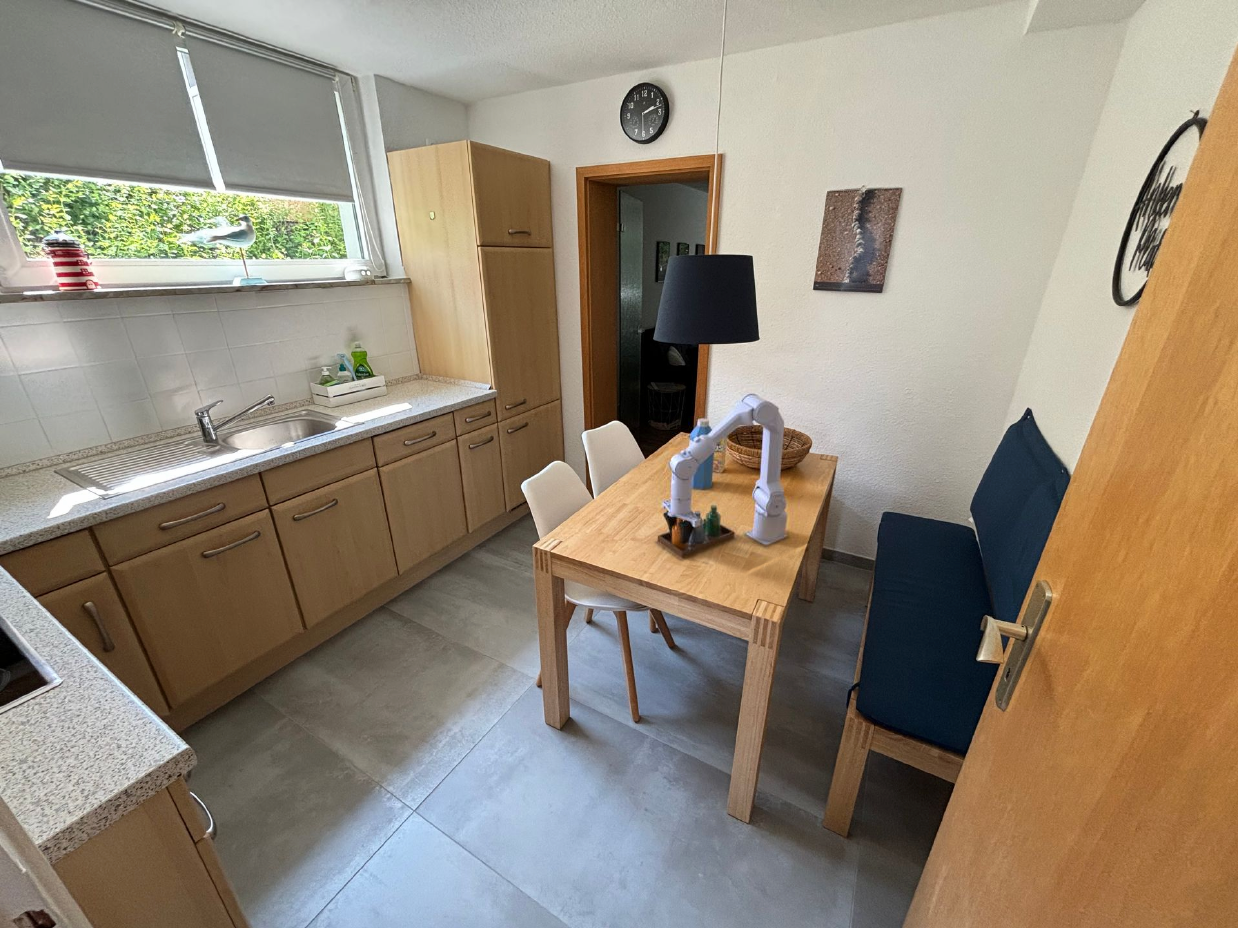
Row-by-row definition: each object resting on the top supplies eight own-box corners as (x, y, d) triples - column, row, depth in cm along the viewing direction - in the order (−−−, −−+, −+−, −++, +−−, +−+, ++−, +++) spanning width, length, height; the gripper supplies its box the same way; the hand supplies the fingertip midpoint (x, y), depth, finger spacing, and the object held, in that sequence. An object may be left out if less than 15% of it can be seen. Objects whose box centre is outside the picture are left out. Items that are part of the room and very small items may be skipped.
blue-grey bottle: (696, 533, 151) (698, 507, 147) (706, 540, 147) (708, 513, 144) (685, 538, 148) (686, 511, 145) (695, 544, 145) (696, 517, 142)
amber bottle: (680, 540, 147) (681, 513, 144) (689, 546, 144) (691, 519, 140) (668, 544, 145) (669, 517, 142) (678, 551, 142) (679, 523, 138)
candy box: (700, 469, 199) (702, 433, 194) (703, 465, 203) (705, 430, 197) (721, 473, 195) (724, 436, 190) (724, 469, 199) (727, 433, 193)
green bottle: (712, 528, 154) (714, 501, 151) (722, 533, 151) (724, 507, 147) (701, 532, 152) (703, 505, 148) (711, 538, 148) (713, 511, 145)
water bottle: (695, 477, 192) (698, 414, 183) (717, 483, 186) (721, 419, 177) (682, 485, 185) (685, 420, 176) (704, 491, 180) (708, 425, 170)
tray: (708, 523, 157) (708, 517, 157) (733, 538, 149) (734, 532, 148) (657, 542, 147) (657, 535, 146) (682, 559, 138) (682, 552, 138)
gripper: (653, 490, 142) (653, 532, 147) (687, 509, 131) (685, 553, 136) (673, 484, 146) (671, 525, 151) (707, 502, 134) (704, 546, 140)
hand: (679, 538), depth 144 cm, fingers closed on amber bottle, 4 cm apart
